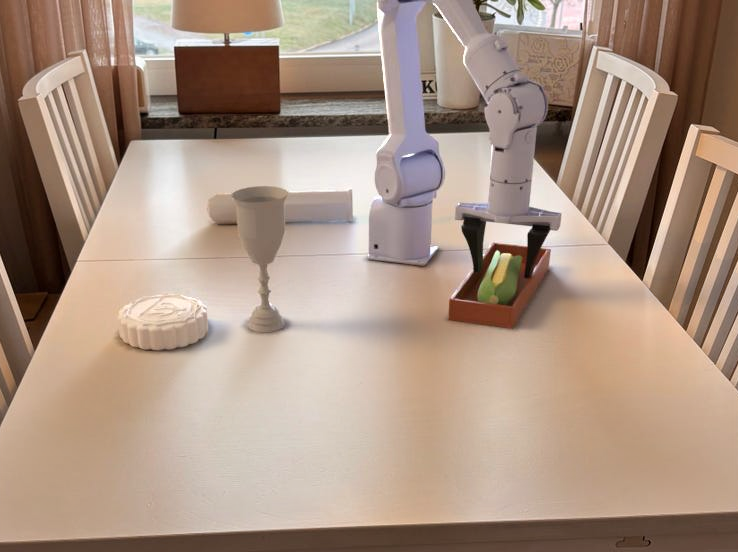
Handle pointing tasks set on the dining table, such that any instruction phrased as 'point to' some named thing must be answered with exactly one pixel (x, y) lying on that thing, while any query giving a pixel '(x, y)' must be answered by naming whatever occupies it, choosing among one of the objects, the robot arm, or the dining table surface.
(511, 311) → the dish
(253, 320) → the chalice
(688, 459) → the dining table surface
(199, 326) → the mooncake
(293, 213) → the tube
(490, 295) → the edible corn
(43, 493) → the dining table surface
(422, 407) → the dining table surface
